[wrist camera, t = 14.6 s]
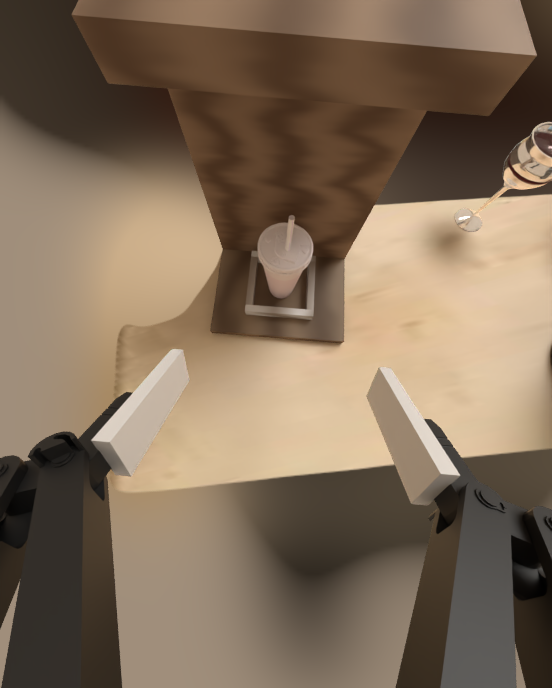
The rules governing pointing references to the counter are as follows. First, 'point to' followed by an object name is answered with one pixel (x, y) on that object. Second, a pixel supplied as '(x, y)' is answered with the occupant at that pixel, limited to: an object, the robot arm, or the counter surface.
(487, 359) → the counter surface
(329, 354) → the counter surface
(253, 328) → the overhang shelf
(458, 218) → the wineglass
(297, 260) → the smoothie
